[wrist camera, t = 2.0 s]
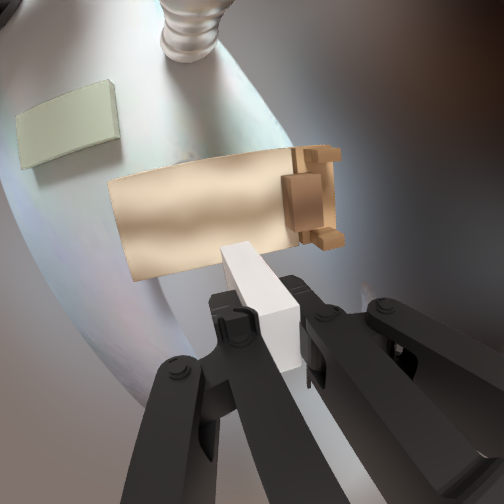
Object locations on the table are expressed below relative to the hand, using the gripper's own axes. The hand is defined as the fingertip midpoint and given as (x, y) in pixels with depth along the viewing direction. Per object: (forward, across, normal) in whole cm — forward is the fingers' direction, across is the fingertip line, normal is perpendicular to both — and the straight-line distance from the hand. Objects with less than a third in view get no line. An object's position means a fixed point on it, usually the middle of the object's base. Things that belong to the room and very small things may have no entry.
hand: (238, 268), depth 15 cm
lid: (+14, 0, 0) cm, 14 cm away
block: (+12, +8, 0) cm, 15 cm away
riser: (+21, -15, +13) cm, 29 cm away
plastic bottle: (+21, +1, +20) cm, 29 cm away
